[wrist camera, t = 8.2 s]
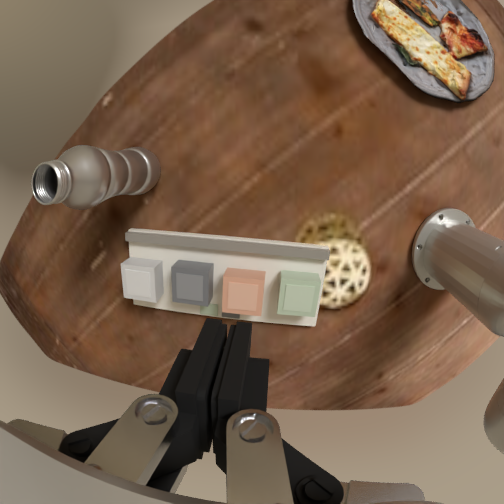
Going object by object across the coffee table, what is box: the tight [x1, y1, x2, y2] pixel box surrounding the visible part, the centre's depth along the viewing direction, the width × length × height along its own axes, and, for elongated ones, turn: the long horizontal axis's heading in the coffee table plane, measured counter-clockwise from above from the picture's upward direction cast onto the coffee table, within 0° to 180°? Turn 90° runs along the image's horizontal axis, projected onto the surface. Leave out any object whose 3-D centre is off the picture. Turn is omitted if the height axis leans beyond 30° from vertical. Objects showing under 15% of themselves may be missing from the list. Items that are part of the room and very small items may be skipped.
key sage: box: [277, 270, 321, 317], centre depth 38 cm, size 5×5×3 cm
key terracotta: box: [222, 267, 266, 316], centre depth 37 cm, size 5×5×3 cm
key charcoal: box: [171, 260, 214, 307], centre depth 39 cm, size 5×5×3 cm
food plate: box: [353, 0, 495, 103], centre depth 26 cm, size 25×23×4 cm
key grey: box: [121, 257, 164, 303], centre depth 38 cm, size 5×5×3 cm
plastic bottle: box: [31, 145, 161, 210], centre depth 28 cm, size 6×7×20 cm
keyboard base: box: [125, 228, 330, 326], centre depth 40 cm, size 28×12×2 cm, turn 86°
